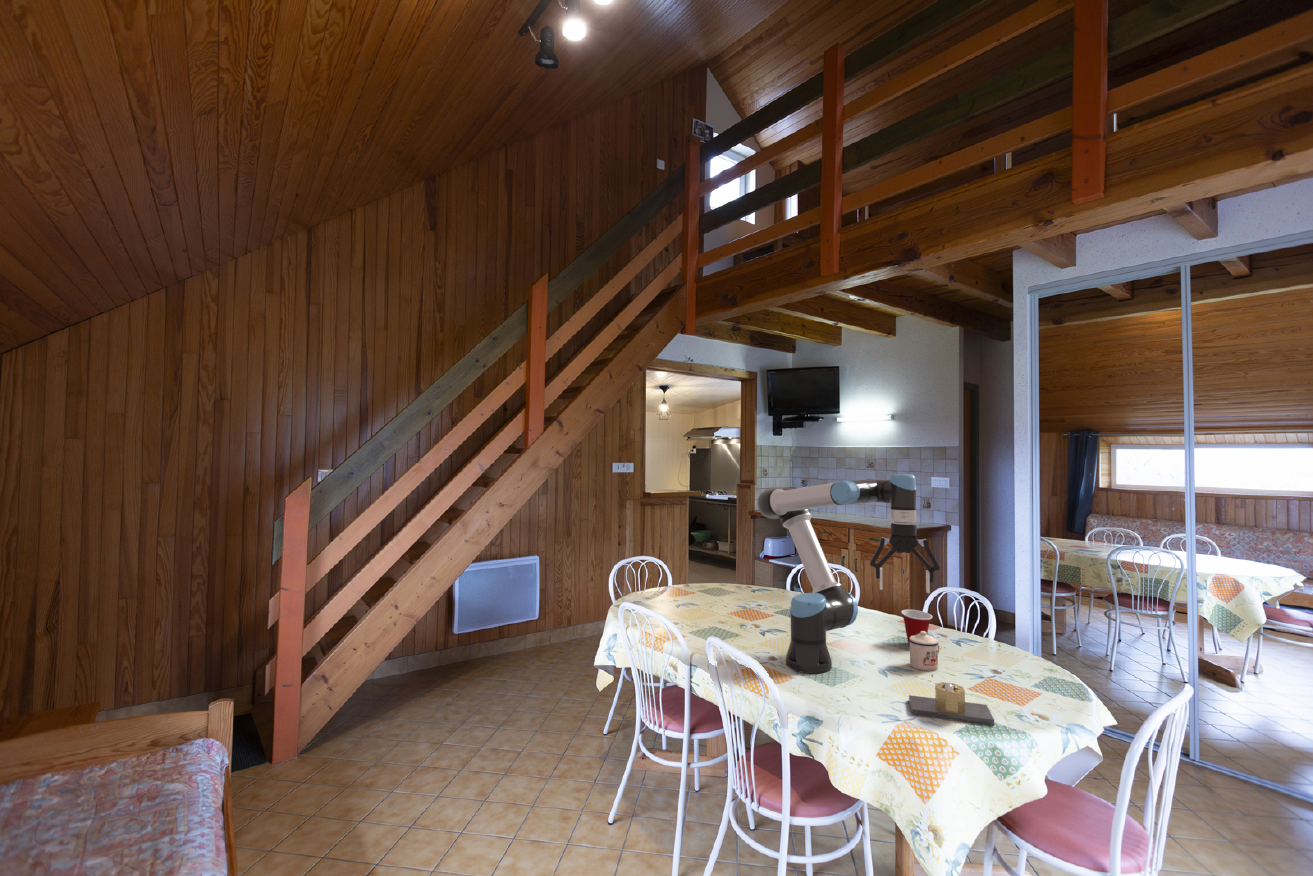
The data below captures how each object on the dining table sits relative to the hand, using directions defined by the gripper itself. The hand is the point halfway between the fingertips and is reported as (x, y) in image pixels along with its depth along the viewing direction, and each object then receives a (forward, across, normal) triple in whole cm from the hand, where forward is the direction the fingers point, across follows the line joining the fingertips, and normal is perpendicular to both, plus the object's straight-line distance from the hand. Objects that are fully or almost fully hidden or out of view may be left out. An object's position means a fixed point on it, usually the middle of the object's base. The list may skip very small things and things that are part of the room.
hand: (904, 590), depth 186 cm
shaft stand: (+29, +10, -19) cm, 36 cm away
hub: (+27, +10, -19) cm, 35 cm away
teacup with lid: (+29, +8, +19) cm, 35 cm away
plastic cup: (+29, +7, +42) cm, 51 cm away
